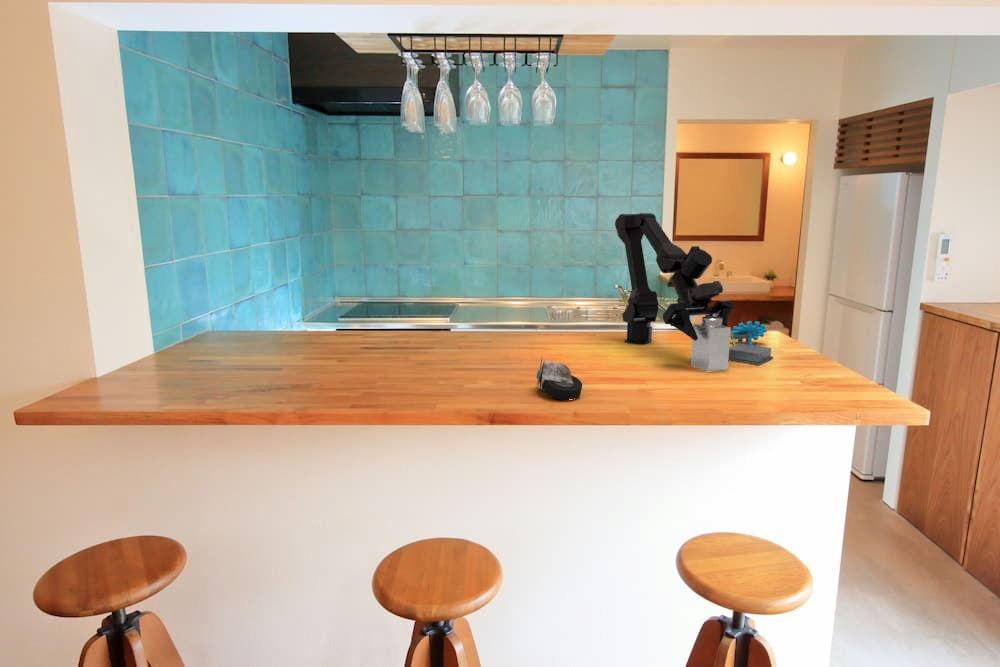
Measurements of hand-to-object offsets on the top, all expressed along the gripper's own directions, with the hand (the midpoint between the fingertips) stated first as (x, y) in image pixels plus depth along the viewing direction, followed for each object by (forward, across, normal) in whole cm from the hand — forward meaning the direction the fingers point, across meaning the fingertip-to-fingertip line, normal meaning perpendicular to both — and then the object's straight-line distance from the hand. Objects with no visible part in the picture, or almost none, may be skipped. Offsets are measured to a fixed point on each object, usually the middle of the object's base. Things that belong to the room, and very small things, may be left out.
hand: (711, 338), depth 162 cm
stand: (+2, +16, +9) cm, 18 cm away
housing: (+5, 0, +6) cm, 8 cm away
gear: (-9, +28, +20) cm, 36 cm away
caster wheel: (+11, -46, +1) cm, 47 cm away
